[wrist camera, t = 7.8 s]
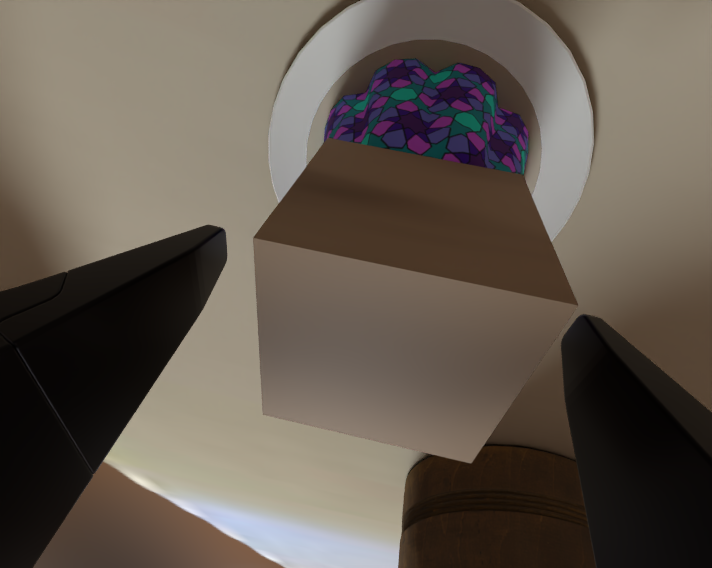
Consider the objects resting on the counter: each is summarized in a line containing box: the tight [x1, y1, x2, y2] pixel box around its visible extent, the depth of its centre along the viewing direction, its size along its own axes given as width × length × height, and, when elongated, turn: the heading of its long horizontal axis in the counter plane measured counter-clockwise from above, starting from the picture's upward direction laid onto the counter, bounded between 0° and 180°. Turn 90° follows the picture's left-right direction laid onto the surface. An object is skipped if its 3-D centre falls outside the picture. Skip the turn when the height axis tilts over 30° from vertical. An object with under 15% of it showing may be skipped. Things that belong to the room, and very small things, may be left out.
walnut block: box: [253, 138, 578, 463], centre depth 9 cm, size 5×5×5 cm
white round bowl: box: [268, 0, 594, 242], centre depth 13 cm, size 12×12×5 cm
